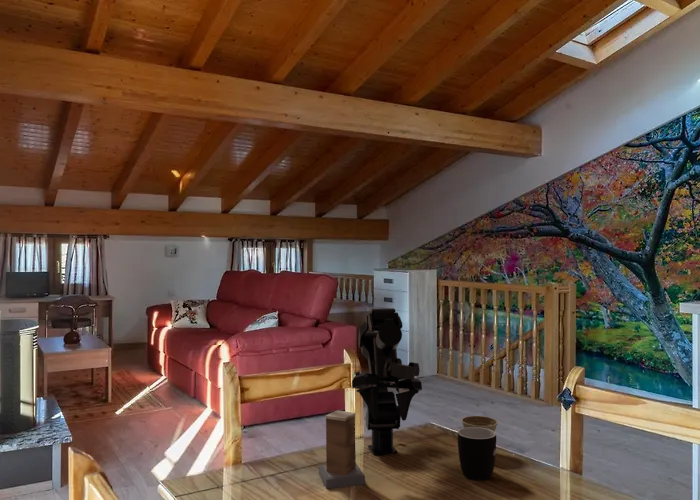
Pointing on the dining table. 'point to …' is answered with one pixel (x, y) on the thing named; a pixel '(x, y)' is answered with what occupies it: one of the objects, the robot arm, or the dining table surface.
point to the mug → (477, 452)
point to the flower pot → (479, 422)
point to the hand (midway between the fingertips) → (390, 419)
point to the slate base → (341, 478)
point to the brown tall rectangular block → (340, 442)
